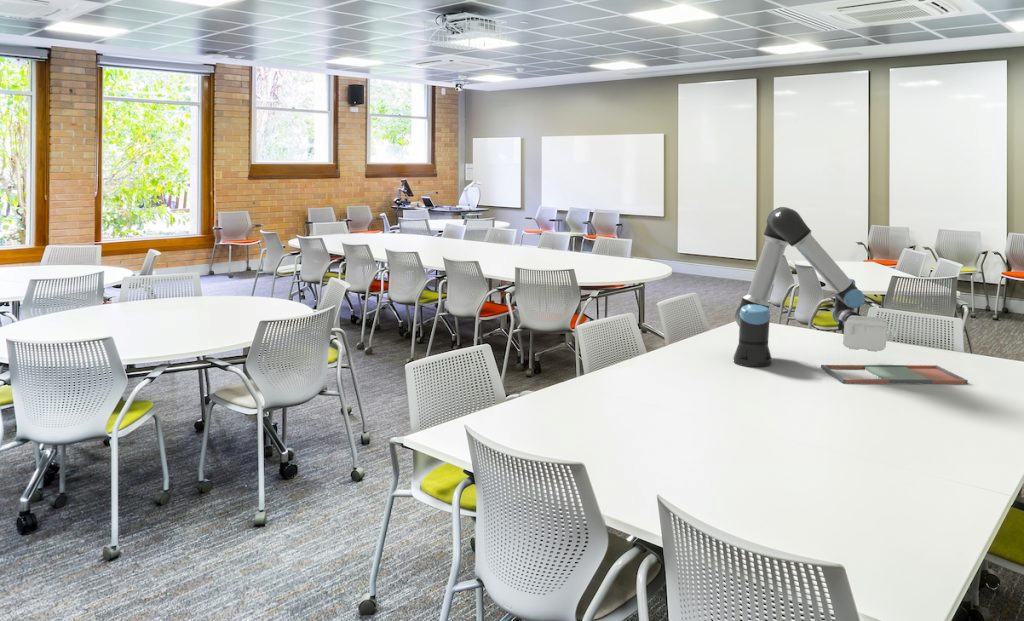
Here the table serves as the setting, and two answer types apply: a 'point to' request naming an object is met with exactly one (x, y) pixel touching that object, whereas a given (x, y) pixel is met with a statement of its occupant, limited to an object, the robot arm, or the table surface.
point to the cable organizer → (865, 333)
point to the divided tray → (900, 374)
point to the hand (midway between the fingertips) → (869, 331)
